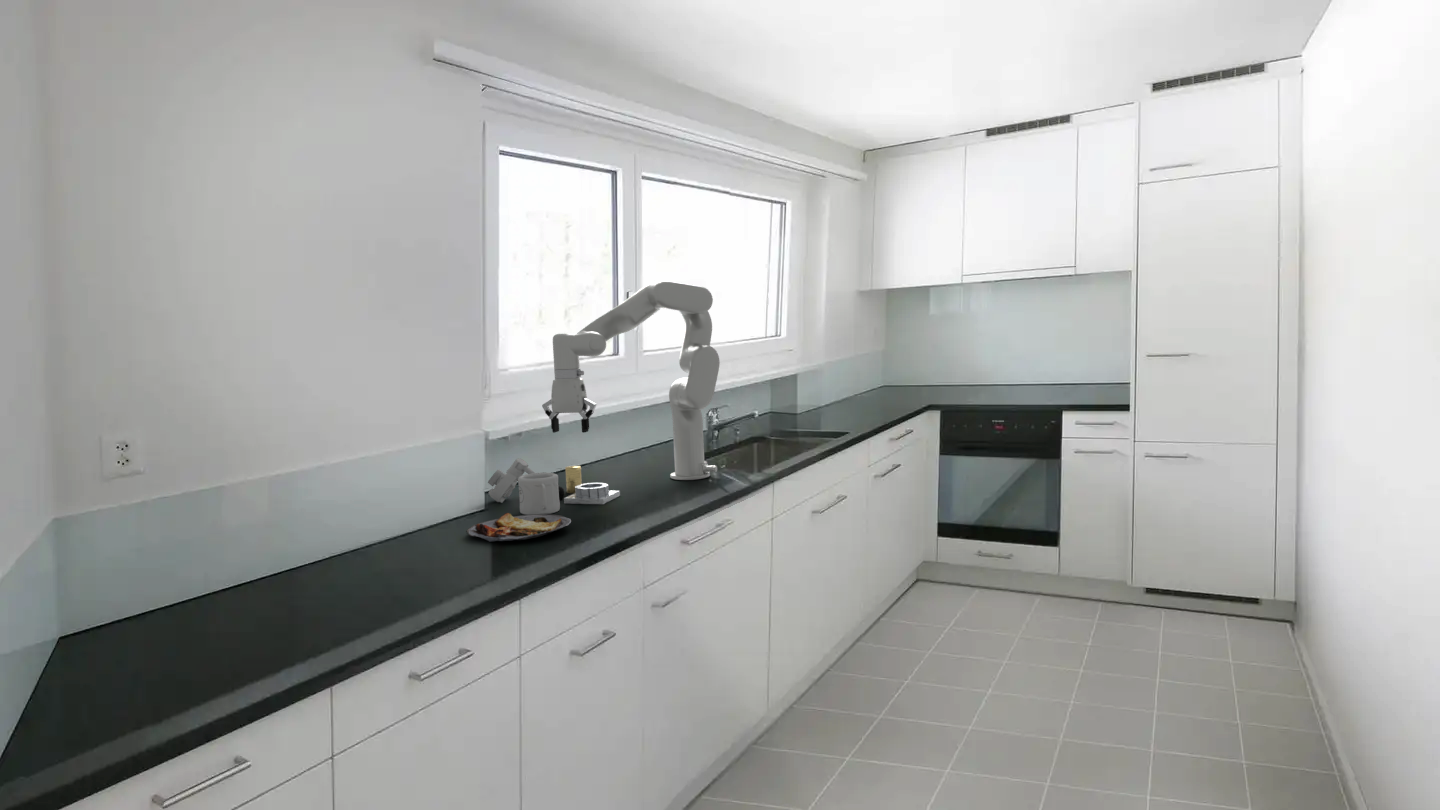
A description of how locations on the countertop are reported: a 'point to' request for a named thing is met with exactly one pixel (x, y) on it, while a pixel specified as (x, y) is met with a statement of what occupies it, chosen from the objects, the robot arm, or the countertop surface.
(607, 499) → the flange plate
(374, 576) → the countertop surface
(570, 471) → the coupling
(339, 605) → the countertop surface
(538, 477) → the mug
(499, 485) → the valve
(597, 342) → the robot arm
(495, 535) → the food plate
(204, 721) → the countertop surface
